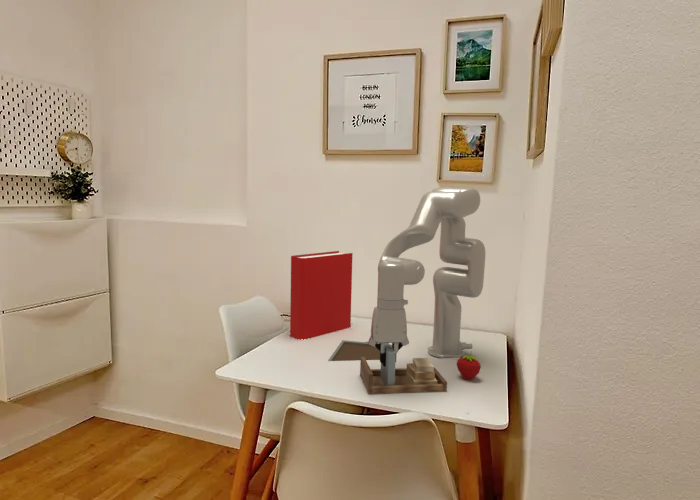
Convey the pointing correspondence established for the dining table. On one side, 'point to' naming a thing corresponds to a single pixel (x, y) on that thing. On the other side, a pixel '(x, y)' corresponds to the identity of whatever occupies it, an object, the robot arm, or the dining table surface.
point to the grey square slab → (388, 367)
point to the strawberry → (468, 366)
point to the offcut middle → (419, 376)
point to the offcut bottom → (419, 382)
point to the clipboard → (355, 351)
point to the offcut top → (423, 365)
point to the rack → (396, 381)
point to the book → (320, 294)
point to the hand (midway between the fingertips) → (387, 364)
